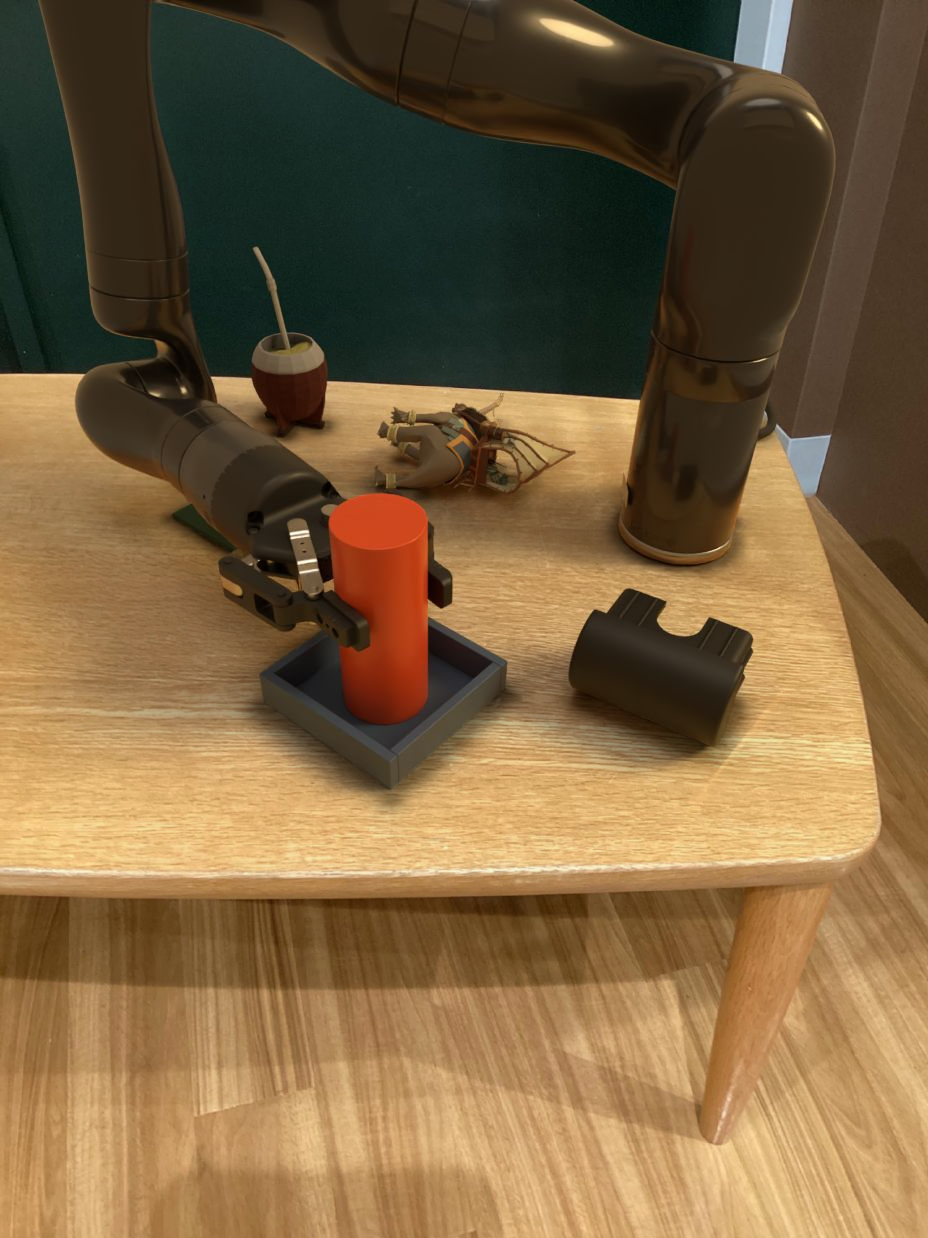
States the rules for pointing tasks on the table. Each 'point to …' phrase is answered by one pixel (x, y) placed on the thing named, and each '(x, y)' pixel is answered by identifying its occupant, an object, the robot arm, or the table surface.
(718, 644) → the end cap
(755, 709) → the table surface
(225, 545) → the mat
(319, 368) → the mate gourd
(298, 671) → the dark grey square tray
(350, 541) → the tube
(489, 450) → the figurine
